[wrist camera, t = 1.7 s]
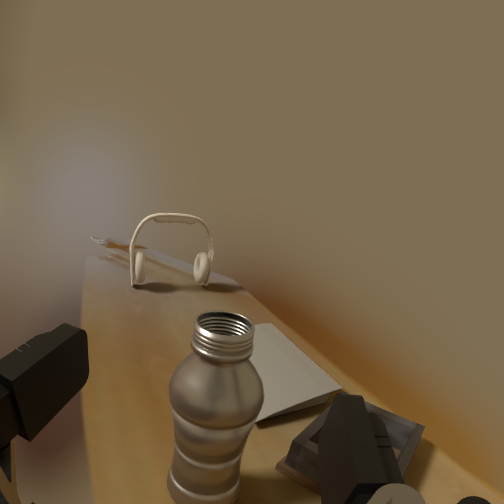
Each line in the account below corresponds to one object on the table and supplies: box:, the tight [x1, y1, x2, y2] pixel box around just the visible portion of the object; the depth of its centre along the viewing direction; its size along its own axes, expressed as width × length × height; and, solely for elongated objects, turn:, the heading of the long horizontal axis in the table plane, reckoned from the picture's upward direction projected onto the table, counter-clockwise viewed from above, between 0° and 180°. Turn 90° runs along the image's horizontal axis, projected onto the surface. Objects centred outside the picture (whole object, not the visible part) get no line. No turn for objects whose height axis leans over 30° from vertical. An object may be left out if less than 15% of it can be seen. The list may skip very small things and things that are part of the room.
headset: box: [130, 213, 214, 286], centre depth 74 cm, size 20×7×18 cm, turn 114°
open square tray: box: [275, 392, 425, 495], centre depth 30 cm, size 13×13×5 cm
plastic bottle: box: [167, 310, 265, 504], centre depth 22 cm, size 6×7×20 cm
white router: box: [249, 323, 343, 423], centre depth 47 cm, size 15×23×4 cm, turn 26°
